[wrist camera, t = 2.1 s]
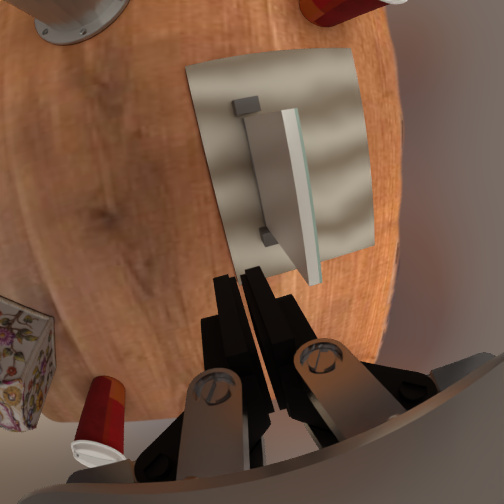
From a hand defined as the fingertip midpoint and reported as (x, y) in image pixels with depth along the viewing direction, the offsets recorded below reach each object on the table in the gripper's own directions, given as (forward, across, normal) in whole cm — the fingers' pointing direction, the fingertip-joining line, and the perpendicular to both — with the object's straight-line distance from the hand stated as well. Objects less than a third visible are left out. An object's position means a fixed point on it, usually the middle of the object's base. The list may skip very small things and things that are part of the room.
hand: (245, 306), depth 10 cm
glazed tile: (+22, -5, -1) cm, 22 cm away
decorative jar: (+24, +35, +12) cm, 44 cm away
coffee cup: (+24, +26, +26) cm, 44 cm away
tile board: (+24, -10, -1) cm, 25 cm away
